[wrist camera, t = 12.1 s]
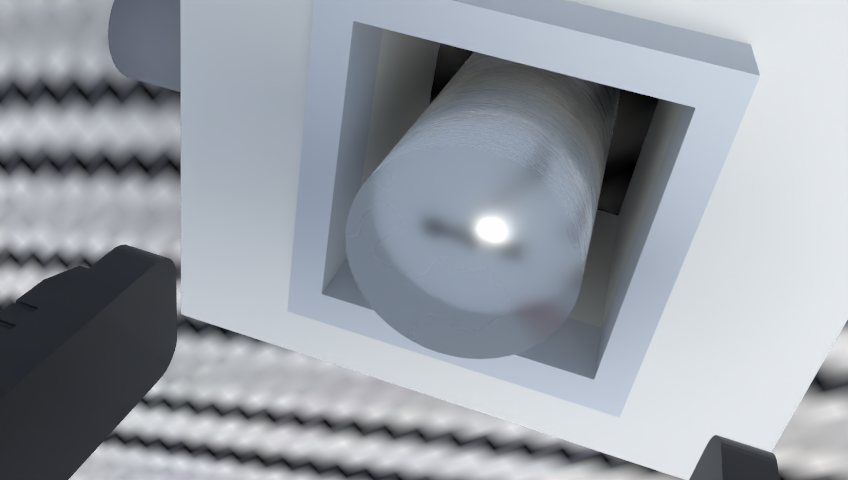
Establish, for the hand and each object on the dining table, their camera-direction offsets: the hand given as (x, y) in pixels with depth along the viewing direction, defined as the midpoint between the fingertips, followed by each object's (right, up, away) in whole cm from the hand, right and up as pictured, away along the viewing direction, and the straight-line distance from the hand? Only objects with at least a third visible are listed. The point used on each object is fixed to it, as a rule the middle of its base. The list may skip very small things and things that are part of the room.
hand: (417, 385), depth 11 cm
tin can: (+3, +6, +11) cm, 13 cm away
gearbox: (+2, +7, +11) cm, 14 cm away
